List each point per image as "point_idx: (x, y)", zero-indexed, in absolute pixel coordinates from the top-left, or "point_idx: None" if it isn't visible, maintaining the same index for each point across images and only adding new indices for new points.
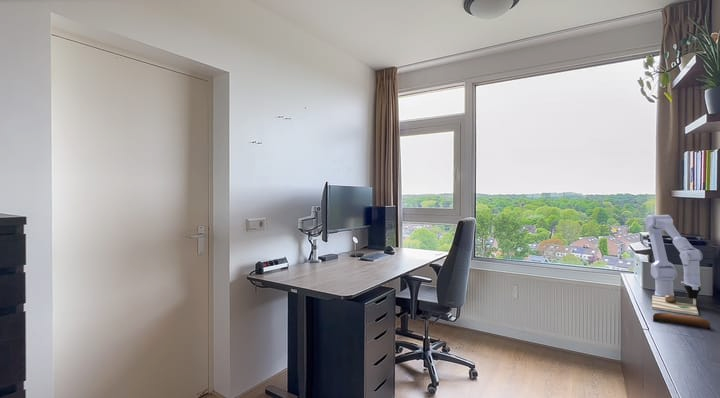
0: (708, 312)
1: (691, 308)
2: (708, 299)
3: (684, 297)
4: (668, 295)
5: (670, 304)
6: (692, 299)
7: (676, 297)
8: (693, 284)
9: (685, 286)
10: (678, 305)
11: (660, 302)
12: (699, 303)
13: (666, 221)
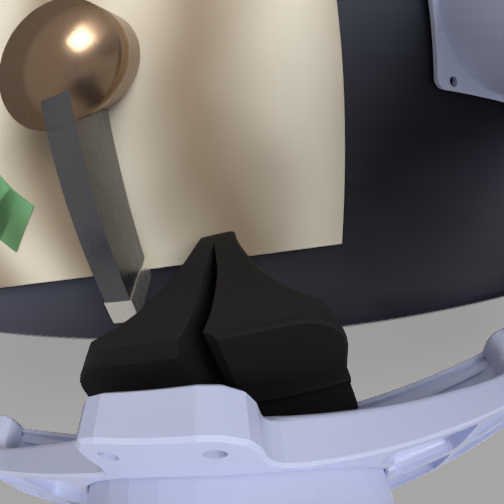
0: (86, 320)
1: (13, 254)
2: (476, 286)
3: (95, 226)
4: (56, 38)
5: (1, 98)
6: (105, 292)
7: (55, 138)
8: (63, 498)
9: (160, 370)
10: (17, 159)
11: (19, 9)
12: (349, 261)
13: None
